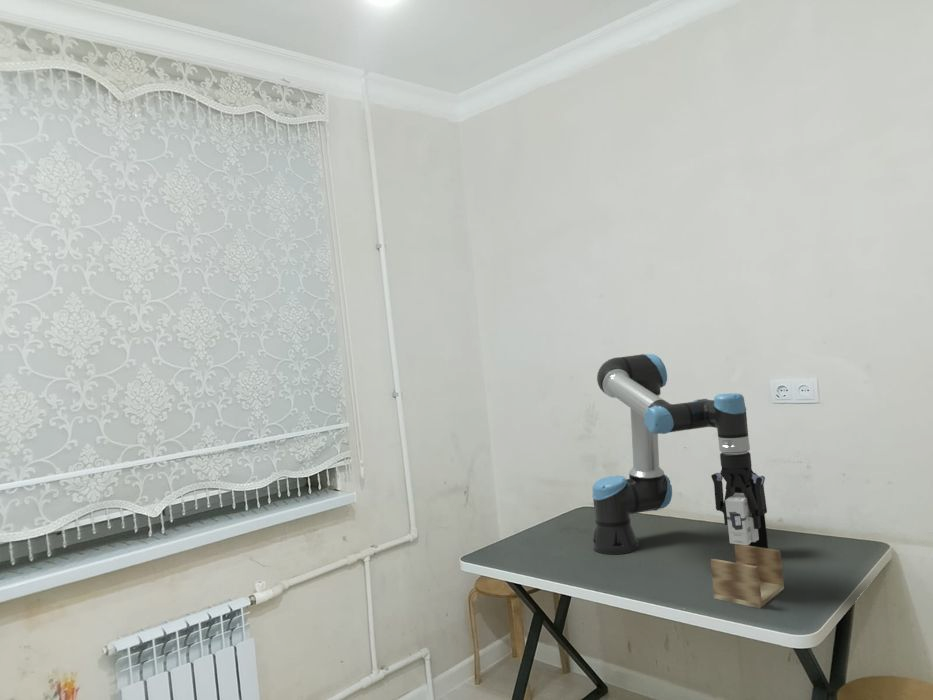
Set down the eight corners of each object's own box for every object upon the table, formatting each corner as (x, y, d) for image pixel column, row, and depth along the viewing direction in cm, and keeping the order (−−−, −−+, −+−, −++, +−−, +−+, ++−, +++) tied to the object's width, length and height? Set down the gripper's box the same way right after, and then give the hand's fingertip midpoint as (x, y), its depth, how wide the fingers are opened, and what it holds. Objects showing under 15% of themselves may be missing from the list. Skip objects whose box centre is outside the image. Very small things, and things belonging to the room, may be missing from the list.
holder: (714, 598, 170) (710, 560, 170) (739, 579, 181) (736, 543, 181) (760, 608, 161) (756, 568, 161) (784, 588, 172) (780, 550, 172)
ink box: (739, 534, 176) (735, 491, 176) (758, 536, 173) (754, 492, 173) (728, 543, 169) (724, 499, 169) (748, 545, 166) (743, 500, 166)
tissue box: (769, 559, 194) (759, 467, 194) (741, 560, 195) (732, 468, 195) (763, 551, 201) (753, 462, 201) (736, 552, 203) (727, 463, 203)
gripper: (695, 453, 175) (704, 538, 175) (763, 456, 162) (773, 548, 162) (708, 448, 180) (717, 530, 180) (775, 450, 167) (785, 540, 167)
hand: (743, 538), depth 171 cm, fingers closed on ink box, 5 cm apart
